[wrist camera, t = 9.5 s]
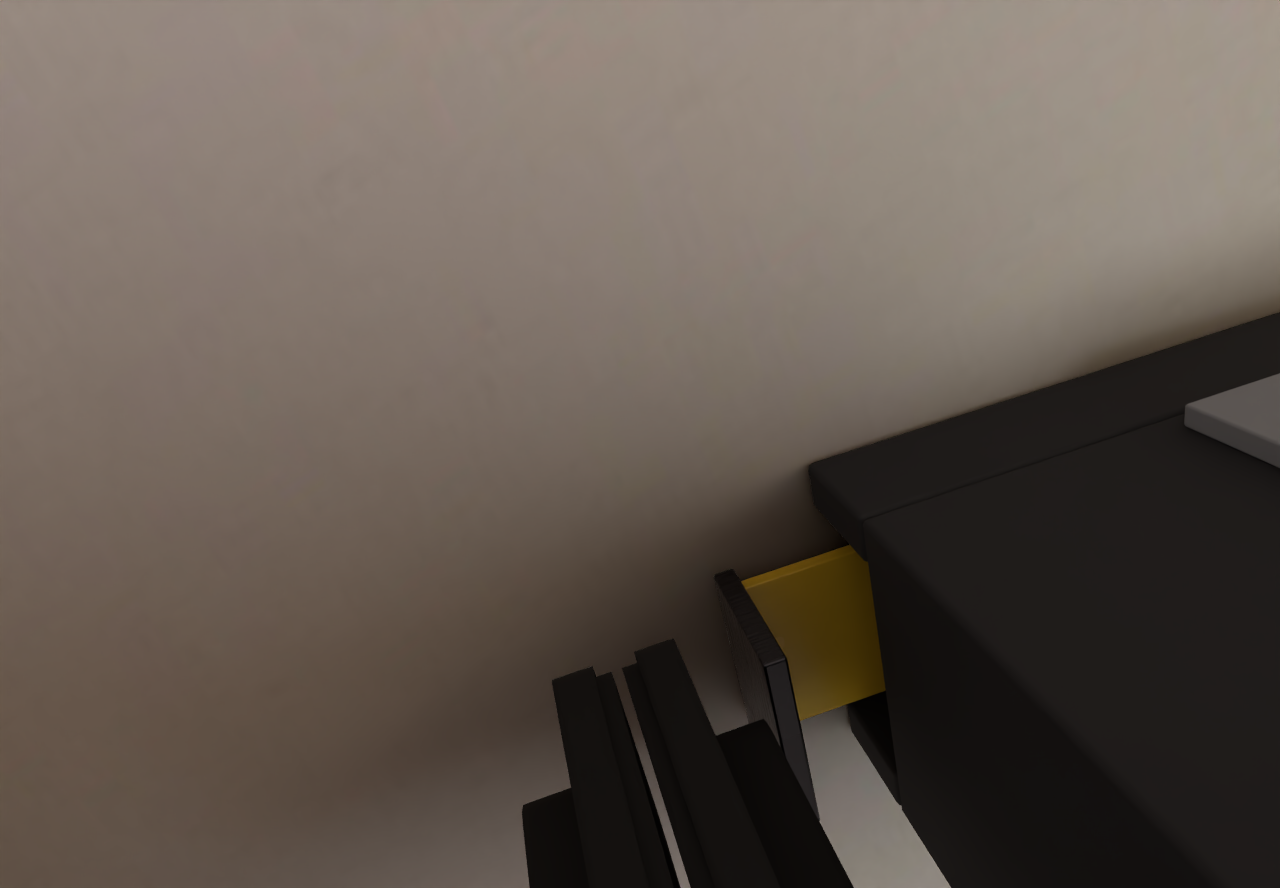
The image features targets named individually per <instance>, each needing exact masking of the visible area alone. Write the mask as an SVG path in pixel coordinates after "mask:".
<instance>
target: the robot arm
mask: <svg viewBox="0 0 1280 888" xmlns="http://www.w3.org/2000/svg"><path fill="white" fill-rule="evenodd" d="M634 653H635V657H636V660H637V663H636V664H633V665H630V666H627V667H624V668H622V669H623V673H624V676H625V679H626V682H627V685H628V689H629V692H630V695H631V698H632V701H633V705H634V708H635V711H636V714H637V717H638V721H639V724H640V727H641V730H642V733H643V737H644V740H645V743H646V746H647V749H648V753H649V756H650V759H651V762H652V765H653V769H654V772H655V775H656V778H657V781H658V784H659V788H660V791H661V794H662V797H663V800H664V804H665V807H666V810H667V813H668V816H669V820H670V823H671V826H672V829H673V832H674V836H675V839H676V842H677V845H678V848H679V852H680V855H681V858H682V861H683V864H684V867H685V871H686V874H687V877H688V880H689V883H690V887H691V888H854V887H853V885H852V884H851V882H850V880H849V878H848V876H847V874H846V872H845V870H844V868H843V866H842V864H841V862H840V860H839V859H838V857H837V855H836V853H835V851H834V849H833V847H832V845H831V843H830V841H829V839H828V837H827V835H826V834H825V832H824V830H823V828H822V826H821V824H820V822H819V820H818V818H817V816H816V814H815V812H814V811H813V809H812V807H811V805H810V803H809V801H808V799H807V797H806V795H805V793H804V791H803V789H802V787H801V786H800V784H799V782H798V780H797V778H796V776H795V774H794V772H793V770H792V768H791V766H790V764H789V762H788V761H787V759H786V757H785V755H784V753H783V751H782V749H781V747H780V745H779V743H778V741H777V739H776V737H775V736H774V734H773V732H772V730H771V728H770V727H769V725H768V723H767V722H766V721H765V720H764V719H761V720H758V721H756V722H753V723H750V724H747V725H745V726H742V727H739V728H736V729H733V730H731V731H728V732H725V733H722V734H720V735H717V736H715V734H714V731H713V729H712V727H711V724H710V722H709V720H708V717H707V715H706V712H705V710H704V708H703V705H702V703H701V701H700V698H699V696H698V694H697V691H696V689H695V687H694V684H693V682H692V680H691V677H690V675H689V673H688V670H687V668H686V666H685V663H684V661H683V659H682V656H681V654H680V652H679V649H678V647H677V645H676V642H675V640H674V639H670V640H667V641H664V642H661V643H658V644H656V645H653V646H650V647H647V648H644V649H641V650H638V651H635V652H634ZM552 685H553V691H554V697H555V702H556V708H557V713H558V718H559V724H560V729H561V735H562V740H563V746H564V751H565V757H566V762H567V768H568V773H569V779H570V784H571V788H569V789H566V790H563V791H561V792H558V793H555V794H552V795H549V796H547V797H544V798H541V799H538V800H536V801H533V802H530V803H527V804H525V805H523V809H522V818H523V830H524V839H525V849H526V858H527V867H528V877H529V886H530V888H680V885H679V881H678V878H677V875H676V871H675V868H674V865H673V861H672V858H671V855H670V851H669V848H668V845H667V841H666V838H665V835H664V831H663V828H662V825H661V822H660V819H659V815H658V812H657V809H656V806H655V803H654V800H653V797H652V794H651V791H650V788H649V785H648V782H647V779H646V776H645V773H644V770H643V767H642V763H641V760H640V757H639V754H638V751H637V748H636V745H635V742H634V739H633V736H632V733H631V730H630V727H629V724H628V721H627V718H626V715H625V712H624V709H623V705H622V702H621V699H620V696H619V693H618V690H617V687H616V684H615V681H614V678H613V675H612V672H609V673H606V674H604V675H601V676H598V677H596V675H595V672H594V669H593V667H592V666H591V667H589V668H586V669H583V670H580V671H577V672H574V673H571V674H568V675H565V676H562V677H559V678H557V679H554V680H552Z"/></svg>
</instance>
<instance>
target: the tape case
mask: <svg viewBox="0 0 1280 888" xmlns="http://www.w3.org/2000/svg"><path fill="white" fill-rule="evenodd" d="M809 477H810V483H811V489H812V495H813V501H814V505H815V506H816V508H817V509H818V510H819V511H820V512H821V513H822V514H823V515H824V517H825V518H826V519H827V520H828V521H829V522H830V523H831V524H832V525H833V527H834V528H835V529H836V530H837V531H838V532H839V533H840V534H841V536H842V537H843V538H844V539H845V540H846V541H847V542H848V543H849V544H850V546H851V547H852V548H853V549H854V550H855V551H856V552H857V553H858V555H859V556H860V557H861V558H862V559H863V560H864V561H866V562H868V566H869V573H870V581H871V588H872V595H873V602H874V610H875V617H876V624H877V631H878V638H879V646H880V653H881V660H882V667H883V675H884V682H885V689H886V691H883V692H880V693H877V694H875V695H872V696H869V697H866V698H863V699H861V700H858V701H855V702H852V703H849V704H848V711H849V717H850V723H851V729H852V732H853V734H854V735H855V737H856V738H857V740H858V742H859V743H860V745H861V746H862V748H863V750H864V751H865V753H866V754H867V756H868V757H869V759H870V761H871V762H872V764H873V765H874V767H875V768H876V770H877V772H878V773H879V775H880V776H881V778H882V780H883V781H884V783H885V784H886V786H887V787H888V789H889V791H890V792H891V794H892V795H893V797H894V798H895V800H896V802H897V803H898V804H899V805H902V811H903V812H904V814H905V815H906V817H907V818H908V820H909V822H910V823H911V825H912V826H913V828H914V829H915V831H916V833H917V834H918V836H919V837H920V839H921V841H922V842H923V844H924V845H925V847H926V848H927V850H928V852H929V853H930V855H931V856H932V858H933V859H934V861H935V863H936V864H937V866H938V867H939V869H940V870H941V872H942V874H943V875H944V877H945V878H946V880H947V882H948V883H949V885H950V886H951V888H1280V313H1277V314H1274V315H1271V316H1267V317H1264V318H1261V319H1258V320H1255V321H1252V322H1249V323H1246V324H1243V325H1240V326H1236V327H1233V328H1230V329H1227V330H1224V331H1221V332H1218V333H1215V334H1212V335H1209V336H1206V337H1202V338H1199V339H1196V340H1193V341H1190V342H1187V343H1184V344H1181V345H1178V346H1175V347H1171V348H1168V349H1165V350H1162V351H1159V352H1156V353H1153V354H1150V355H1147V356H1144V357H1141V358H1137V359H1134V360H1131V361H1128V362H1125V363H1122V364H1119V365H1116V366H1113V367H1110V368H1106V369H1103V370H1100V371H1097V372H1094V373H1091V374H1088V375H1085V376H1082V377H1079V378H1076V379H1072V380H1069V381H1066V382H1063V383H1060V384H1057V385H1054V386H1051V387H1048V388H1045V389H1041V390H1038V391H1035V392H1032V393H1029V394H1026V395H1023V396H1020V397H1017V398H1014V399H1011V400H1007V401H1004V402H1001V403H998V404H995V405H992V406H989V407H986V408H983V409H980V410H976V411H973V412H970V413H967V414H964V415H961V416H958V417H955V418H952V419H949V420H946V421H942V422H939V423H936V424H933V425H930V426H927V427H924V428H921V429H918V430H915V431H911V432H908V433H905V434H902V435H899V436H896V437H893V438H890V439H887V440H884V441H881V442H877V443H874V444H871V445H868V446H865V447H862V448H859V449H856V450H853V451H850V452H846V453H843V454H840V455H837V456H834V457H831V458H828V459H825V460H822V461H819V462H816V463H812V464H811V465H810V466H809Z"/></svg>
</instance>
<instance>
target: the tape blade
mask: <svg viewBox="0 0 1280 888" xmlns="http://www.w3.org/2000/svg"><path fill="white" fill-rule="evenodd" d="M714 580H715V584H716V588H717V593H718V597H719V601H720V605H721V609H722V613H723V617H724V622H725V626H726V630H727V634H728V638H729V642H730V647H731V651H732V655H733V659H734V663H735V667H736V671H737V676H738V680H739V684H740V688H741V692H742V696H743V701H744V705H745V709H746V713H747V717H748V721H749V724H750V723H753V722H756V721H758V720H761V719H764V720H765V721H766V722H767V723H768V725H769V727H770V728H771V730H772V732H773V734H774V736H775V737H776V739H777V741H778V743H779V745H780V747H781V749H782V751H783V753H784V755H785V757H786V759H787V761H788V762H789V764H790V766H791V768H792V770H793V772H794V774H795V776H796V778H797V780H798V782H799V784H800V786H801V787H802V789H803V791H804V793H805V795H806V797H807V799H808V801H809V803H810V805H811V807H812V809H813V811H814V812H815V814H816V816H817V818H818V820H819V821H820V818H819V813H818V808H817V803H816V798H815V793H814V788H813V783H812V778H811V773H810V769H809V764H808V759H807V754H806V749H805V744H804V739H803V734H802V729H801V724H800V721H801V720H804V719H807V718H810V717H813V716H815V715H818V714H821V713H824V712H827V711H829V710H832V709H835V708H838V707H841V706H844V705H846V704H849V703H852V702H855V701H858V700H861V699H863V698H866V697H869V696H872V695H875V694H877V693H880V692H883V691H886V689H885V682H884V675H883V667H882V660H881V653H880V646H879V638H878V631H877V624H876V617H875V610H874V602H873V595H872V588H871V581H870V573H869V566H868V562H866V561H864V560H863V559H862V558H861V557H860V556H859V555H858V553H857V552H856V551H855V550H854V549H853V548H852V547H851V546H850V545H848V546H845V547H842V548H839V549H836V550H833V551H830V552H827V553H824V554H821V555H818V556H815V557H812V558H809V559H806V560H803V561H800V562H797V563H794V564H791V565H788V566H785V567H782V568H779V569H776V570H773V571H770V572H767V573H764V574H761V575H758V576H755V577H752V578H749V579H746V580H743V581H740V579H739V577H738V576H737V574H736V572H735V571H734V570H733V569H730V570H727V571H724V572H721V573H718V574H715V575H714Z"/></svg>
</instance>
